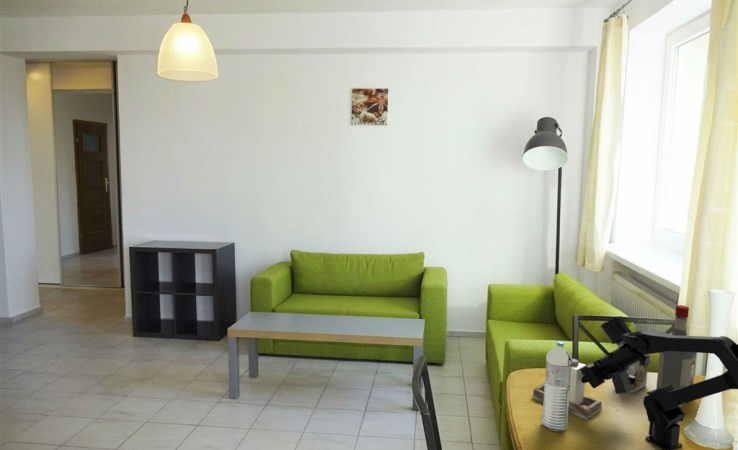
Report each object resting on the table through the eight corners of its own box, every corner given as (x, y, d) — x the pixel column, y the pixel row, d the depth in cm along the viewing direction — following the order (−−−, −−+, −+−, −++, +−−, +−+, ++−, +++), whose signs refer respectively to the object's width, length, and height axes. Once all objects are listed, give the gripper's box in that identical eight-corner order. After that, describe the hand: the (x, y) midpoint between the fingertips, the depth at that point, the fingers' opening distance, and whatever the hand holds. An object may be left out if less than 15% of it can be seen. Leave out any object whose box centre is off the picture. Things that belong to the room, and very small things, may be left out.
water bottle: (547, 418, 152) (552, 336, 149) (570, 426, 147) (576, 342, 144) (538, 427, 146) (543, 342, 143) (562, 435, 142) (568, 348, 139)
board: (601, 409, 158) (602, 400, 157) (586, 419, 151) (587, 410, 151) (547, 389, 171) (548, 380, 171) (532, 398, 164) (532, 389, 164)
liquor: (653, 394, 169) (662, 306, 165) (663, 386, 175) (671, 301, 172) (684, 404, 162) (694, 312, 159) (693, 396, 169) (703, 307, 165)
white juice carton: (583, 401, 160) (586, 361, 158) (574, 407, 156) (577, 366, 154) (565, 395, 164) (567, 355, 163) (555, 400, 160) (558, 360, 159)
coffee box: (628, 379, 180) (631, 335, 178) (646, 386, 175) (650, 341, 173) (614, 386, 175) (617, 340, 173) (632, 393, 170) (637, 346, 168)
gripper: (628, 392, 138) (585, 415, 148) (654, 374, 151) (613, 397, 160) (601, 356, 143) (561, 380, 153) (628, 341, 156) (590, 365, 165)
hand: (582, 381), depth 157 cm, fingers closed, pressing on white juice carton
